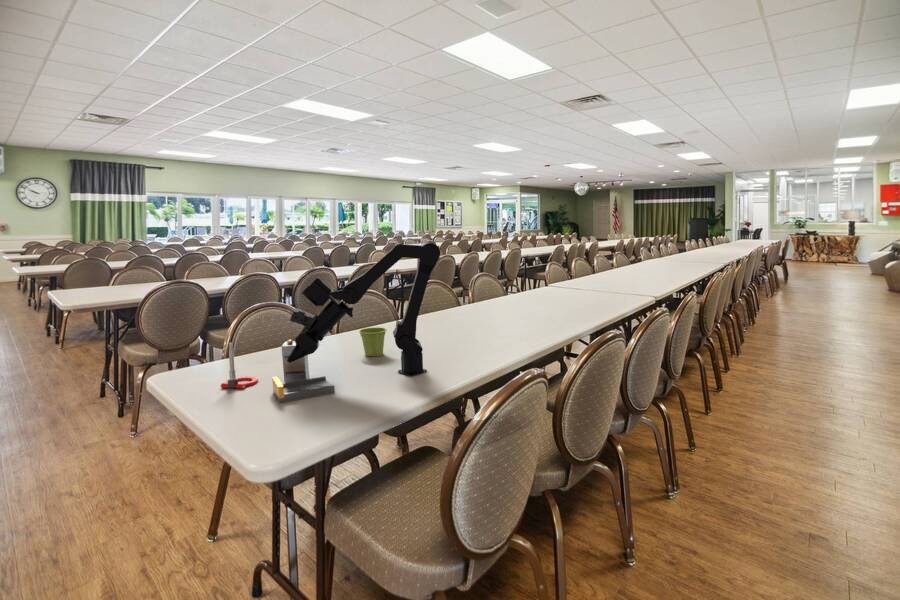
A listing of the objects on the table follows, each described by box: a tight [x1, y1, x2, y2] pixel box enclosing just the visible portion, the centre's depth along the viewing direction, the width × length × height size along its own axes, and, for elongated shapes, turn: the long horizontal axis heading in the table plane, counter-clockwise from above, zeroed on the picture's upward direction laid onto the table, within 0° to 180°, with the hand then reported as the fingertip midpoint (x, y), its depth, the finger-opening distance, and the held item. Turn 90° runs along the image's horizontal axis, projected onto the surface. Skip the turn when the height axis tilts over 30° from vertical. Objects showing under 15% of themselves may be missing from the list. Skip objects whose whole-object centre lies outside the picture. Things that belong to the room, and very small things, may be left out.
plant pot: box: [358, 326, 388, 357], centre depth 161 cm, size 9×9×9 cm
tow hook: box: [220, 342, 259, 390], centre depth 133 cm, size 8×13×9 cm
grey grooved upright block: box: [281, 339, 310, 383], centre depth 135 cm, size 6×6×12 cm
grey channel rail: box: [271, 375, 336, 404], centre depth 125 cm, size 14×9×4 cm
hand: (291, 357), depth 134 cm, fingers open, 9 cm apart
